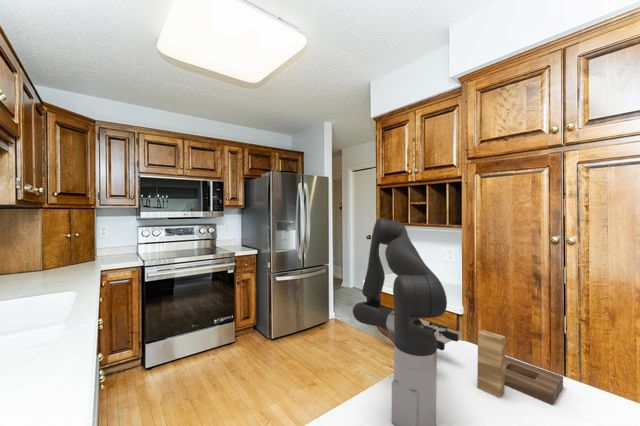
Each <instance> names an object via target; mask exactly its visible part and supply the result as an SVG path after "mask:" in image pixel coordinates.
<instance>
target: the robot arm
mask: <svg viewBox="0 0 640 426" xmlns="http://www.w3.org/2000/svg"><path fill="white" fill-rule="evenodd" d="M380 245H386V248H385V252H384V253H385V260H386V262H387V264H388V267H389V269H390V271H391V272H392V273H394V274H395V276H396V277H395V279H394V281H393V286H392V287H393V288H392V296H393V298H392V300H393V309H390V308H387V307H381V305H382V304H381V303H382V300H381V299H382V297H381V294H382V293H383V292H382V291H383V288H384V285H385V284H384V283H385V280H386V279H385V278H386V276H385V270H384V266H383V264H382V261H381V257H380ZM361 292H362V295H363V296H364V297H365V298H366V301H361V302H357V303H356V304H355V305H354V306H353V308H352V315H353V318H355V320H356V321H357V322H359V323H362V324H365V325H369V326H373V327H374V326H375V327H378V328H381V329H383V330H385V331H388V332H390V333H393V335H394V339H393V340H394V342H393V344H394V347H393V348H394V351H393V353H394V355H393V380H392V381H391V423H393V424H394V425H395V426H437V382H438V381H437V377H438V376H437V375H438V374H437V371H438V370H437V369H438V368H437V367H438V363H437V362H438V350H440V351H442V352H443V351H444V350H445V348H446V347H445V346H446V345H445V342H443V341H441V340H438V339H439V338H446V339H448V340H451V341H453V342H456V343H457V342H458V341H459V338H460V337H459V334H458V333H456V332H453V331H450V330H448V329H449V328H448V326H446V325H442V324H439V323H437V322H432V321H429V322H428V324H424V323H423V322H422V321H421V319H432V318H433V319H435V318H439V317H442V316H443V315H444V313H446V310H447V306H448V303H447V302H448V299H447V294H446V291H445V288H444V286H443V284H442V282H441V281H440V279H439V277H438V276H437V275H436V274H435V273H434V272H433V271H432V269H430V268H429V266H427V264H426V263H425V262H424V260H423V259H422V257H421V255H420V253H419V251H418V250H417V248H416V247H415V246H414V244H413V242H412V241H411V239H410V237H409V233H408V232H407V228H406V226H405V225H404V224H403V223H402V222H401V221H396V220H391V219H387V218H383V217H379V218H378V219H376V221H375V223H374V226H373V229H372V235H371V241H370V248H369V253H368V263H367V269H366V274H365V278H364V282H363V286H362V290H361Z"/></svg>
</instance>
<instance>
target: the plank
mask: <svg viewBox="0 0 640 426" xmlns="http://www.w3.org/2000/svg"><path fill="white" fill-rule="evenodd" d="M505 356H506V336H504V335H501V334H497V333H494V332H491V331H488V330H484V329H482V330H480V331H478V332H477V373H476V374H477V377H476V378H477V380H476V381H477V383H476V384H477V385H476V386H477V389H480V390H481V391H484V392H486V393H488V394H489V395H490V394H491V395H492V396H495V397H496V398H499V399H501V398H502V397H503V396H504V394H505V385H504V384H505Z"/></svg>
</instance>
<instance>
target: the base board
mask: <svg viewBox="0 0 640 426" xmlns="http://www.w3.org/2000/svg"><path fill="white" fill-rule="evenodd" d="M504 386H506V387H508V388H511V389H512V390H516V391H518V392H521V393H523V394H525V395H527V396H530V397H532V398H534V399H537V400H538V401H541V402H544V403H546V404H549V405H551V406H553V405H554V404H555V402H556V401H557V400H558V399H557V398H558V397H559V395H560V394H561V392H562V391H563V388H564V376H563V375H561V374H557V373H555V372H551V371H550V370H549V371H548V370H547V369H544V368H540V367H537V366H536V365H535V366H534V365H532V364H529V363H526V362H524V361H521V360H517V359H515V358H511V357H510V356H506V355H505V384H504Z"/></svg>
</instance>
